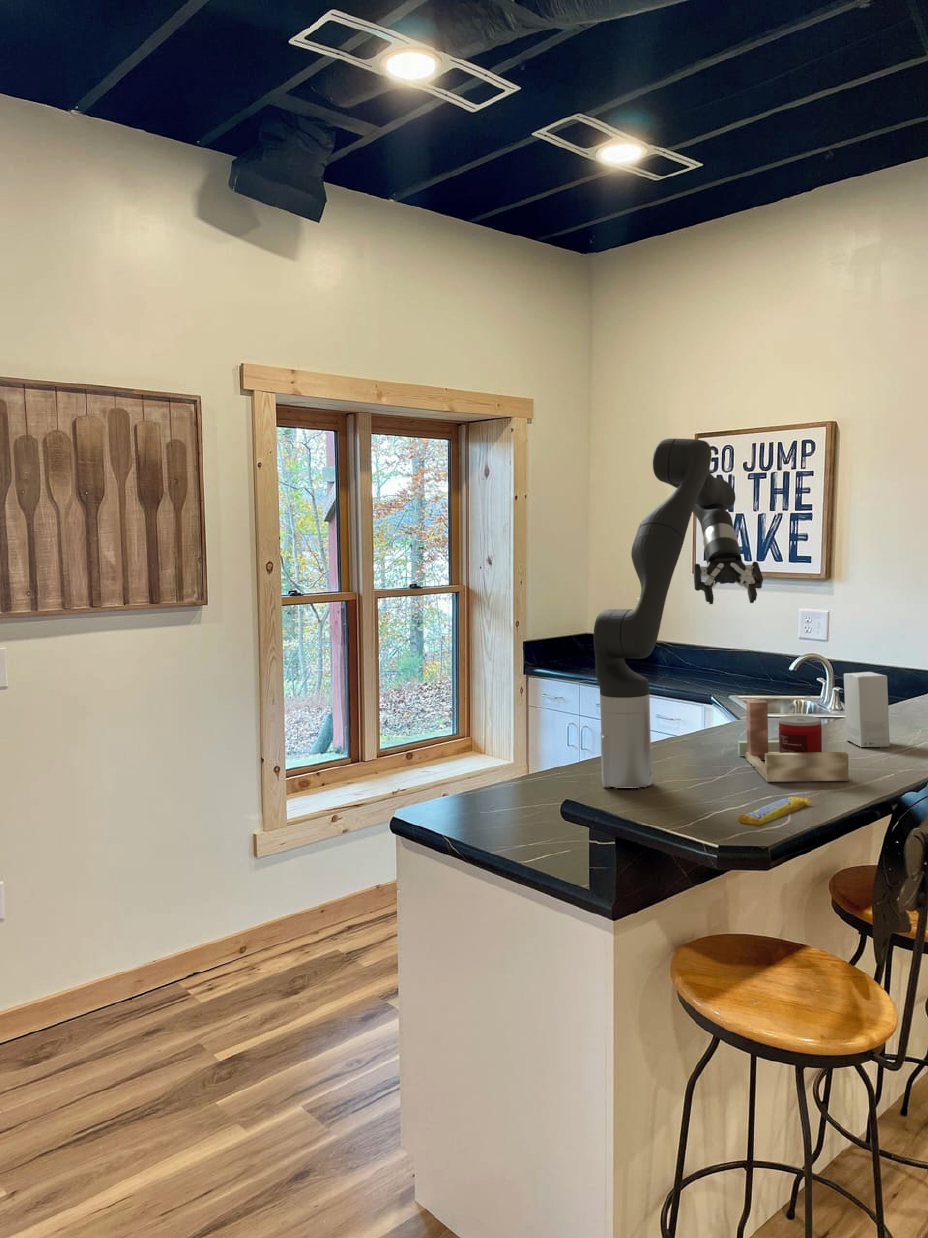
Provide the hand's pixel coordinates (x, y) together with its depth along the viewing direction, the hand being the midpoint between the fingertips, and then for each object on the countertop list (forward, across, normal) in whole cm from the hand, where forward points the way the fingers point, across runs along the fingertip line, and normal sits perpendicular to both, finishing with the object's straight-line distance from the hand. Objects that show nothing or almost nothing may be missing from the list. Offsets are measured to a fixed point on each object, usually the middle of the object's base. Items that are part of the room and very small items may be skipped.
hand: (732, 601), depth 192 cm
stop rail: (+26, +8, +20) cm, 34 cm away
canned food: (+39, +8, +8) cm, 40 cm away
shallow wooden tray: (+35, +8, +11) cm, 38 cm away
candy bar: (+57, -2, -10) cm, 58 cm away
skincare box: (+20, +29, +27) cm, 44 cm away
